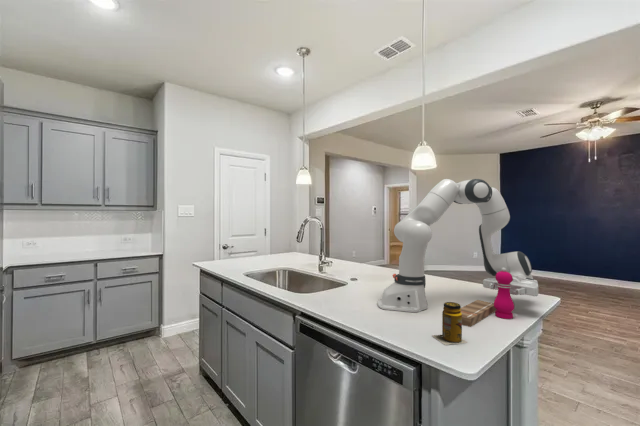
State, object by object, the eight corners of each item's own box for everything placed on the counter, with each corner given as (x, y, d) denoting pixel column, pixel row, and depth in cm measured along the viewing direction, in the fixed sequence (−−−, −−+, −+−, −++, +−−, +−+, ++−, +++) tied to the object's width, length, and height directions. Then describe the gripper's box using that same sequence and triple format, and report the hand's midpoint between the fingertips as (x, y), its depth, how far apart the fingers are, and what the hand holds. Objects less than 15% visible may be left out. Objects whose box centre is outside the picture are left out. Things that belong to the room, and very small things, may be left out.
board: (470, 327, 113) (470, 318, 113) (449, 321, 118) (449, 313, 118) (496, 310, 131) (496, 303, 131) (477, 306, 137) (477, 299, 137)
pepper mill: (489, 313, 127) (489, 266, 127) (506, 313, 128) (506, 265, 128) (501, 319, 120) (501, 269, 120) (518, 319, 121) (518, 269, 121)
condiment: (467, 342, 99) (467, 306, 99) (445, 345, 97) (445, 308, 97) (453, 334, 106) (453, 300, 106) (431, 336, 104) (431, 301, 104)
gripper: (488, 273, 142) (477, 277, 132) (542, 280, 126) (533, 286, 117) (488, 287, 142) (477, 292, 132) (542, 296, 126) (533, 302, 117)
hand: (504, 289), depth 125 cm, fingers open, 8 cm apart
